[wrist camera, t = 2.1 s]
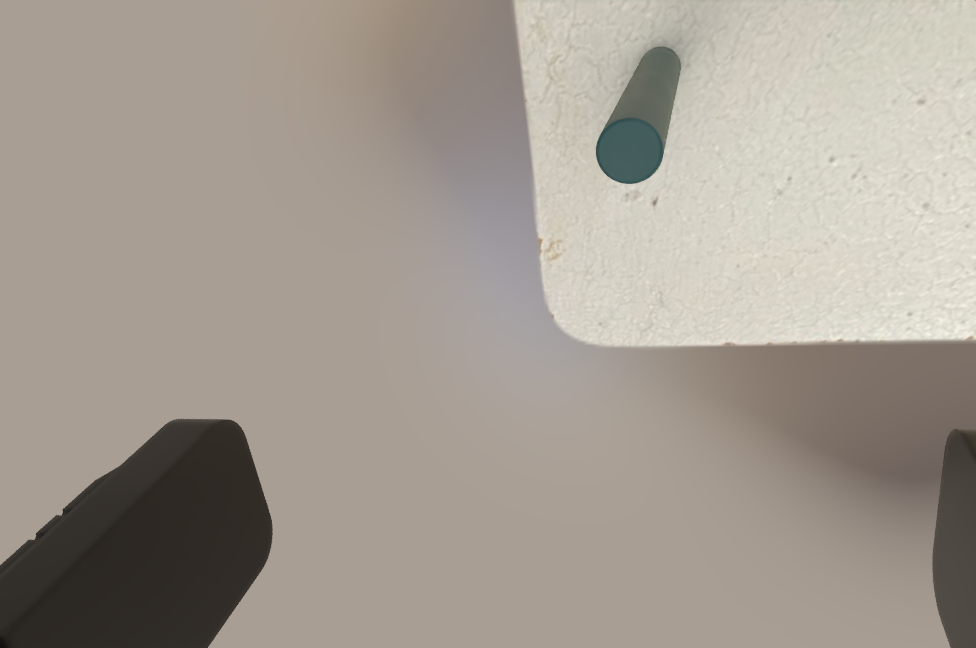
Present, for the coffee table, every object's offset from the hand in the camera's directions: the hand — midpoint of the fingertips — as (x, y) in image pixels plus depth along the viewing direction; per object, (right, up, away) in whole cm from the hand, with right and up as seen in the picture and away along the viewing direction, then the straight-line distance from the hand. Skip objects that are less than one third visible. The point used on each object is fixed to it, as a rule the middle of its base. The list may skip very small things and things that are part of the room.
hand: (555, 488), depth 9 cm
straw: (+6, +12, +22) cm, 26 cm away
